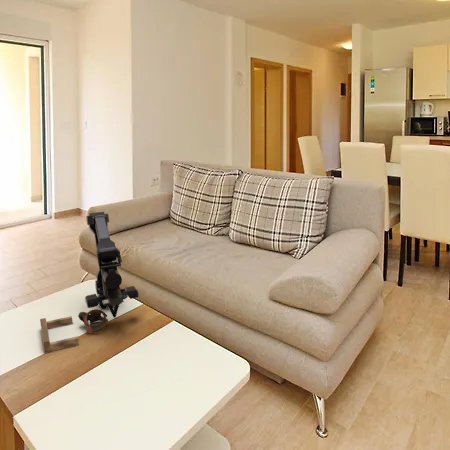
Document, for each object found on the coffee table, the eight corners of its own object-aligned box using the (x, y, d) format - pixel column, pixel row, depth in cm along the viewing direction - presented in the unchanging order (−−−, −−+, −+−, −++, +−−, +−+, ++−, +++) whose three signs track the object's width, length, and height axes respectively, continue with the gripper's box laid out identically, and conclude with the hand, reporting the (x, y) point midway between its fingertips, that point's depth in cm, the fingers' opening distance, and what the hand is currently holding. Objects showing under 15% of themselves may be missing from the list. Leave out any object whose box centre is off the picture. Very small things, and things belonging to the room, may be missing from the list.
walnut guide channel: (72, 322, 163) (70, 312, 162) (78, 344, 146) (77, 334, 145) (41, 328, 158) (39, 319, 157) (44, 353, 142) (43, 342, 141)
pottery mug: (113, 322, 163) (112, 310, 157) (102, 343, 156) (100, 331, 150) (84, 313, 164) (82, 301, 158) (72, 333, 157) (69, 321, 151)
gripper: (87, 291, 145) (92, 332, 149) (140, 281, 153) (144, 320, 157) (82, 281, 155) (87, 319, 159) (133, 271, 163) (136, 308, 167)
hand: (114, 317), depth 160 cm, fingers closed
